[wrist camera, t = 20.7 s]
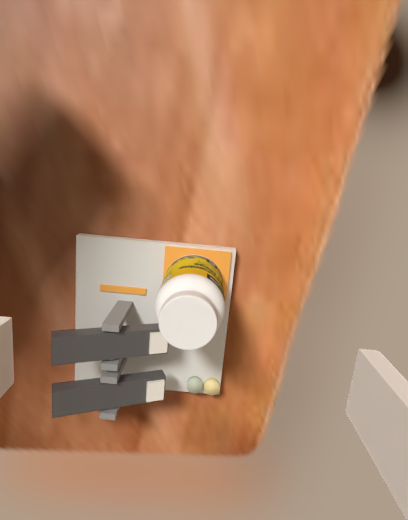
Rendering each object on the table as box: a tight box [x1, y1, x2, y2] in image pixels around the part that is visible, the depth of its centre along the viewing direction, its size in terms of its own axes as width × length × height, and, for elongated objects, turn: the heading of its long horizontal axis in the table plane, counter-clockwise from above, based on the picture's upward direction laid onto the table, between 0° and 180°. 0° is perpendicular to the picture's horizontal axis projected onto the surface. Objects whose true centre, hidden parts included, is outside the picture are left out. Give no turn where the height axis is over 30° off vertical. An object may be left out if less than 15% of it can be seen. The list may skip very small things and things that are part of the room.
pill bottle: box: [155, 254, 225, 350], centre depth 34 cm, size 6×6×11 cm
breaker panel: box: [75, 233, 236, 420], centre depth 38 cm, size 17×18×8 cm
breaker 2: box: [52, 370, 166, 418], centre depth 37 cm, size 11×3×2 cm, turn 83°
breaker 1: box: [52, 323, 168, 366], centre depth 36 cm, size 11×3×2 cm, turn 83°
